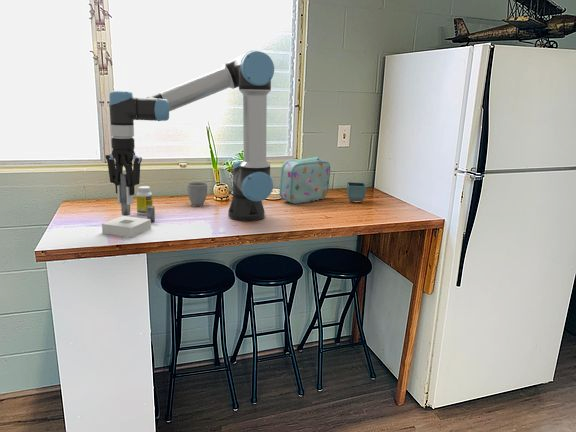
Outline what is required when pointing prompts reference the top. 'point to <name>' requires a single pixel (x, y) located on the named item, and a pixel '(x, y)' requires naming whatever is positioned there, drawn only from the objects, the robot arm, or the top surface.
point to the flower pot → (356, 191)
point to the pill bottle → (143, 199)
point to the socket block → (126, 226)
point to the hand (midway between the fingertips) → (125, 203)
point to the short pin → (151, 213)
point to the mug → (197, 193)
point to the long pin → (124, 195)
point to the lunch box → (304, 180)
